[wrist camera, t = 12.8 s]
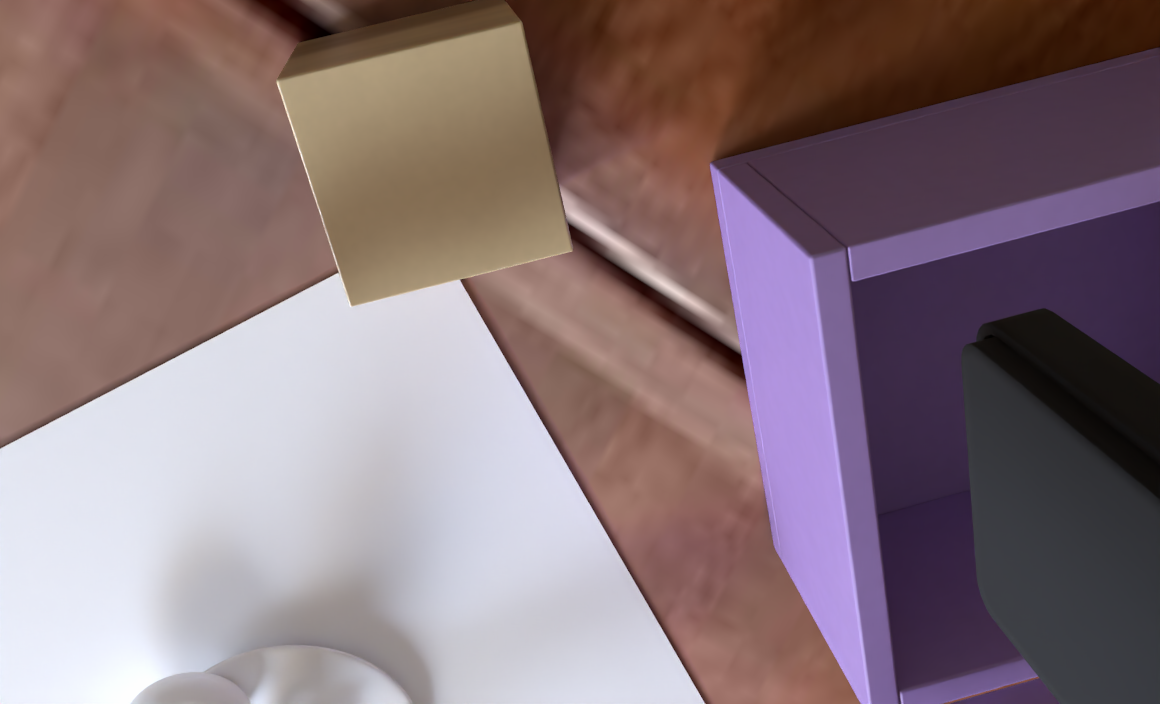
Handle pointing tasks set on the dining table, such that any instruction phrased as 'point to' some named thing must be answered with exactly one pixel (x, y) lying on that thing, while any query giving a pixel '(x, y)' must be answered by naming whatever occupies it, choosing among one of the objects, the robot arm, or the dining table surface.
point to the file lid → (1016, 695)
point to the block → (426, 149)
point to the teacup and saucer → (192, 690)
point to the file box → (926, 338)
